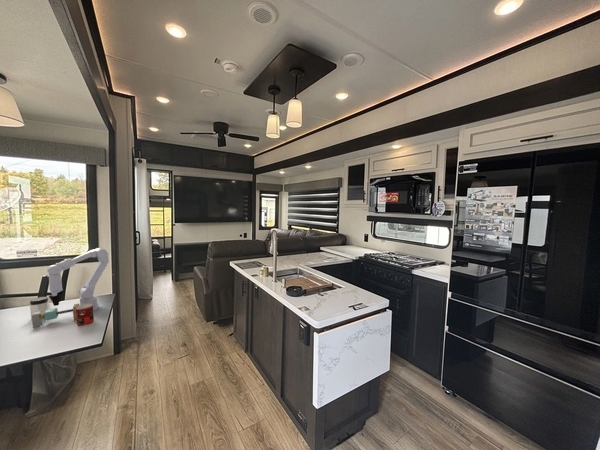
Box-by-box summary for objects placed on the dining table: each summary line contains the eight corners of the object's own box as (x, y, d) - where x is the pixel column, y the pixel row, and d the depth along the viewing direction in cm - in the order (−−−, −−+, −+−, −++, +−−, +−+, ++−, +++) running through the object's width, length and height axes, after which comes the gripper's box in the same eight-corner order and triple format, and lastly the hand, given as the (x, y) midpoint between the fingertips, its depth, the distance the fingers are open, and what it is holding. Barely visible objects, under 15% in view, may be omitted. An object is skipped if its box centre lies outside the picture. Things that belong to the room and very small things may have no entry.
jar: (27, 319, 158) (25, 301, 157) (38, 314, 166) (37, 296, 165) (42, 318, 159) (41, 300, 158) (53, 313, 167) (52, 296, 166)
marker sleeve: (58, 315, 157) (57, 308, 156) (56, 318, 153) (55, 310, 152) (47, 317, 154) (46, 310, 153) (45, 320, 150) (44, 312, 149)
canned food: (74, 324, 151) (73, 307, 151) (90, 318, 159) (89, 302, 158) (80, 327, 148) (79, 309, 147) (96, 321, 155) (95, 304, 154)
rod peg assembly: (80, 314, 164) (79, 302, 164) (78, 319, 158) (77, 306, 157) (35, 323, 152) (34, 310, 151) (32, 328, 146) (31, 315, 145)
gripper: (49, 281, 162) (50, 301, 163) (44, 287, 151) (46, 308, 152) (63, 279, 167) (65, 299, 168) (60, 285, 155) (62, 305, 156)
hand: (57, 303), depth 160 cm, fingers open, 7 cm apart
